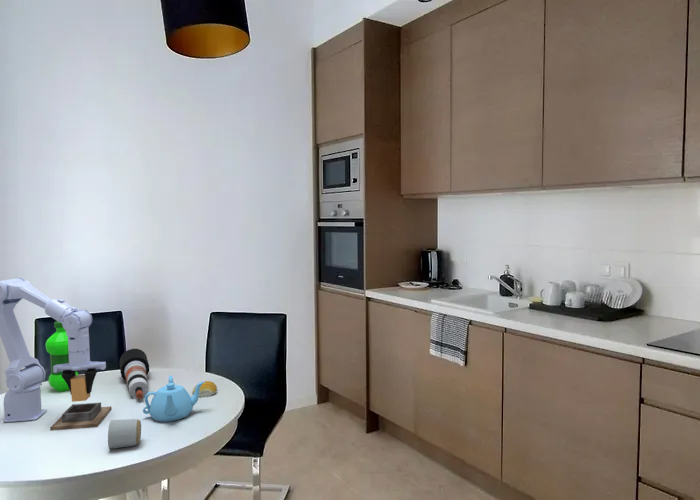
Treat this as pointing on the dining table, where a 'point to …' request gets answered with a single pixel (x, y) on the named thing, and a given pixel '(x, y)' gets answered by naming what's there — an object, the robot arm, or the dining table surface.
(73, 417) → the holder
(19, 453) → the dining table surface
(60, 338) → the plastic bottle
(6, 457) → the dining table surface
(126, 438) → the ceramic mug
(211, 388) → the bread roll
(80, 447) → the dining table surface
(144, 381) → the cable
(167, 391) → the teapot
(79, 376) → the orange rectangular block
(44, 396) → the dining table surface
